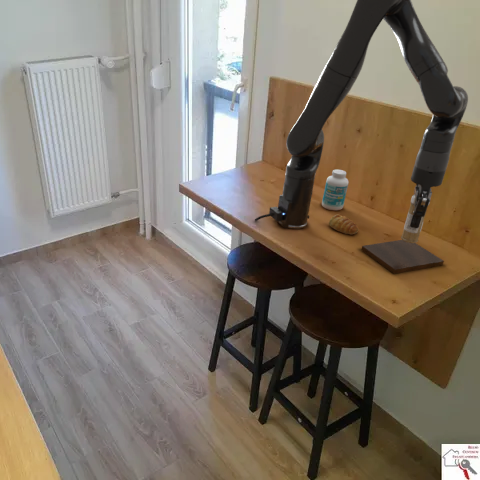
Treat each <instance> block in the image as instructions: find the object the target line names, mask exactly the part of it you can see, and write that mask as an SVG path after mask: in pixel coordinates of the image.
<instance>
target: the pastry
mask: <svg viewBox="0 0 480 480" xmlns="http://www.w3.org/2000/svg"><path fill="white" fill-rule="evenodd" d="M328 225H329V226H330V228H332V229H333V230H335V231H337V232H340V233H342V234H344V235H355V234H357V233H358V232H359V227H358V226H357V224H356V223H355V222H354V221H353V220H352V219H351V218H349V217H347V216H345V215H344V216H342V215H341V214H335V215H333V216H332V217H331V218H330V220H329V221H328Z"/></svg>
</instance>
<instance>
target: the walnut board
mask: <svg viewBox="0 0 480 480" xmlns="http://www.w3.org/2000/svg"><path fill="white" fill-rule="evenodd" d="M360 250H361V251H362V252H363V253H365V254H366V255H367V256H369V257H370V258H371V259H373V260H374V261H375V262H377V263H378V264H380V265H381V266H382V267H384V268H385V269H386V270H388V272H390V273H392V274H393V275H395V274H400V273H407V272H412V271H417V270H418V271H419V270H423V269H429V268H435V267H441V266H444V262H445V260H443V259H442V258H440V257H438V256H437V255H435V254H434V253H432V252H431V251H429V250H427V248H424V247H422V246H421V245H420V244H418V243H408V242H405V241H403V240H402V239H398V240H391V241H385V242H384V241H383V242H377V243H372V244H371V243H370V244H366V245H365V244H364V245H361V249H360Z"/></svg>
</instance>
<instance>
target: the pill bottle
mask: <svg viewBox="0 0 480 480" xmlns="http://www.w3.org/2000/svg"><path fill="white" fill-rule="evenodd" d="M349 184H350V183H349V179H348V178H347V172H346V171H345V170H342V169H333V170H332V172H331V175H329V176H328V177H327V178H326V181H325V185H324V190H323V196H322V199H321V206H322V207H323V208H324V209H326V210H329V211H340V210H342V209H343V208H344V206H345V200H346V197H347V191H348V187H349Z"/></svg>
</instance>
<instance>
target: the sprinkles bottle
mask: <svg viewBox="0 0 480 480" xmlns="http://www.w3.org/2000/svg"><path fill="white" fill-rule="evenodd" d="M414 199H415V195H414V194H413V195H412V196H411V199H410V205H409V208H408V212H407V215H406V219H405V223H404V226H403V230H402V231H403V232H402V234H401V237H400V240H403V241H405V242H408V243H416V244H418V242H419V238H420V235H421V232H422V229H423V225H424V221H425V217H426V214H427V211H428V209H427V210H426V212H425V216H424V217H422V218H421V222H420V225H419V228H412V227H410V223H411V219H412V216H413V211H414V206H413V203H414ZM416 203H418V202H417V201H416ZM430 203H431V201H430V202H429V204H428V206H429V205H430ZM418 211H420V212H422V210H418Z"/></svg>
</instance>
